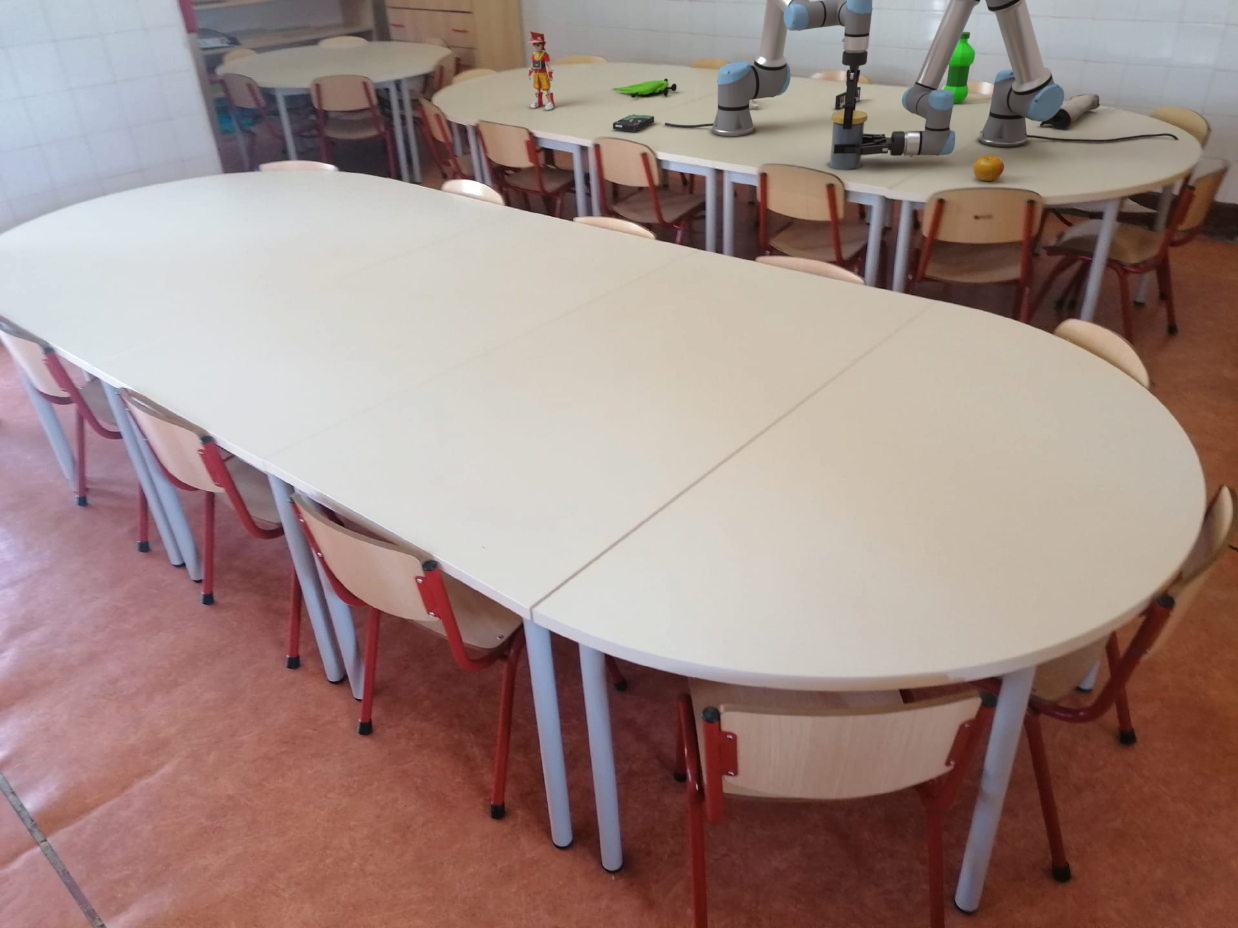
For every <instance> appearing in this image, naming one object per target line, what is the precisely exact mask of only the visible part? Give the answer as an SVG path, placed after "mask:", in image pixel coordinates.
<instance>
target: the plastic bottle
mask: <svg viewBox="0 0 1238 928" xmlns="http://www.w3.org/2000/svg"><path fill="white" fill-rule="evenodd" d="M970 36H971V32H970V31H963V33H962V35H961V37H960V39H959V42H958V44H957V46H956V48H955V51H954V53H953V55H952V57H951V60H950V62H949V64H948V69H947V70H948V71H947V76H946V77H947V78H946V84H945V85H944V87H943V89H942V90H949V91H952V92H953V94H954V100H953V104H960V103H961V102H963V101H964V100H966V98H967V96H968V95H969V85H968V79H969V73H970V67H971V65H972V64H973V63H974V61H975V57H976V51H975V49H974V47H972V45H971V44H970V43H969V42H968V41H969V39H970V38H971V37H970Z"/></svg>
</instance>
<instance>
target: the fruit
mask: <svg viewBox="0 0 1238 928" xmlns="http://www.w3.org/2000/svg"><path fill="white" fill-rule="evenodd" d="M1004 171H1005V164H1004V160H1002V159H1001V158H1000V157H998V156H997V155H995V154H994V155H993V154H992V155H991V154H986V155H983V156H982V155H981V157H979V158H977V160H976V161H975V162H974V165H973V174H974V177H976V178H977V180H980V181H983V182H985V181H986V182H988V181H989V182H991V181H996V180H997V179H998V178H1000V177H1001V175H1003V172H1004Z"/></svg>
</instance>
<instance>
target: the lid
mask: <svg viewBox="0 0 1238 928" xmlns="http://www.w3.org/2000/svg"><path fill="white" fill-rule="evenodd" d="M830 120H831V122H832V123H833V122H835V123H839V124H843V121H844V109H843V110H837V111H834V112H832V113H831V117H830ZM867 121H868V113H867V112H866V111H863V110H856V109H855V110H853V120H852V124H859V123H863V122H865V123H866V122H867Z"/></svg>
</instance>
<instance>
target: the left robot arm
mask: <svg viewBox="0 0 1238 928" xmlns="http://www.w3.org/2000/svg"><path fill="white" fill-rule="evenodd" d="M873 9H874V8H873V0H814V1H810V0H766V4H765V10H764V18H763V24H762V25H763V26H762V31H761V38H760V39H761V40H760V47H759V53H757V54H756V55H755V57H754V61H753V64H751V63H750V62H749V61H739V62H738V61H734V62H730V63H727V64H724V65H723V66H721V67H720V68H719V70H718V75H717V111H716V114H715V118H714V120H713V122H711V123H700V124H676V123H669V122H665V123H664V126H668V127H669V126H670V127H675V128H684V129H685V128H687V129H688V128H689V129H690V128H692V129H693V128H694V129H695V128H704V127H712V133H713V134H715V135H717V136H721V137H741V136H746V135H750V134H752V133H754V127H755V126H754V122H753V118H752V115H751V111H750V108H749V100H753V99H754V100H758V99H766V98H774V97H778V96H782V95H783V94H784V93H786V91H787V90H788V87H789V86H790V84H791V76H792V75H791V74H792V73H791V67H790V64H789V63H788V62H787V58H786V57H785V56H784V53H785V47H786V40H787V35H788V31H795V32H797V31H798V32H800V31H804V30H813V29H819V28H820V29H821V28H827V27H836V26H841V27H844V34H843V38H842V39H841V43H843V50H844V51H842V55H841V56H842V58H841V64H842V65H844V66H845V67H846V66H848V67H849V68H848V69H847V70H846V75H845V78H846V82H845V86H846V91H845V92H846V99H845V104H844V105H843V107H841V108H842V109H843V110H844V121H843V129H852V120H853V110H856V108H857V101H856V98H855V97H857V98H858V97H859V94H857V87H858V83H859V81H860V76H861V69H860V66H865V65H867V63H868V54H869V53H868V51H867V50H868V49H869V44H870V36H871V35H870V32H871V23H872V16H873Z"/></svg>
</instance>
